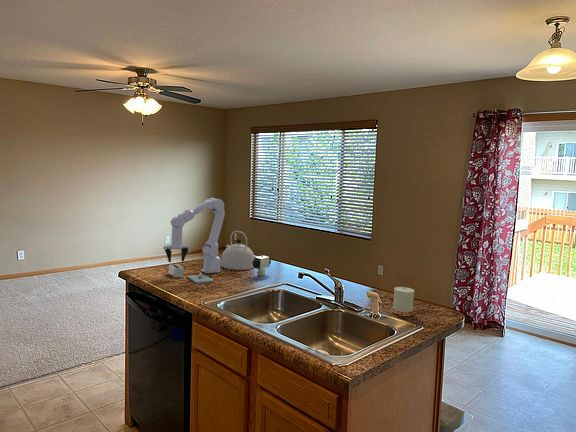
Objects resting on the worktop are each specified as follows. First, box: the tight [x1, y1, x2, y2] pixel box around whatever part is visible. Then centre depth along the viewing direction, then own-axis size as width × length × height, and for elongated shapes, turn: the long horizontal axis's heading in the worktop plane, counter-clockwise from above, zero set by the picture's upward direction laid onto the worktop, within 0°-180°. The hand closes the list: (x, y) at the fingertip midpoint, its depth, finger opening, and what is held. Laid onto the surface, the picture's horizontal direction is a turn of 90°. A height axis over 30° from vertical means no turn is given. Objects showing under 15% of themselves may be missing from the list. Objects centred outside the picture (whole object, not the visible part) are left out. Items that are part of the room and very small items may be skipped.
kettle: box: [220, 230, 256, 271], centre depth 279 cm, size 25×23×22 cm
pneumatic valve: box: [252, 255, 272, 277], centre depth 258 cm, size 6×12×12 cm, turn 141°
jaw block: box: [168, 263, 185, 279], centre depth 246 cm, size 5×10×5 cm, turn 34°
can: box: [392, 286, 415, 312], centre depth 202 cm, size 9×9×12 cm
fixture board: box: [186, 273, 215, 285], centre depth 240 cm, size 10×14×1 cm
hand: (176, 261), depth 246 cm, fingers open, 7 cm apart
